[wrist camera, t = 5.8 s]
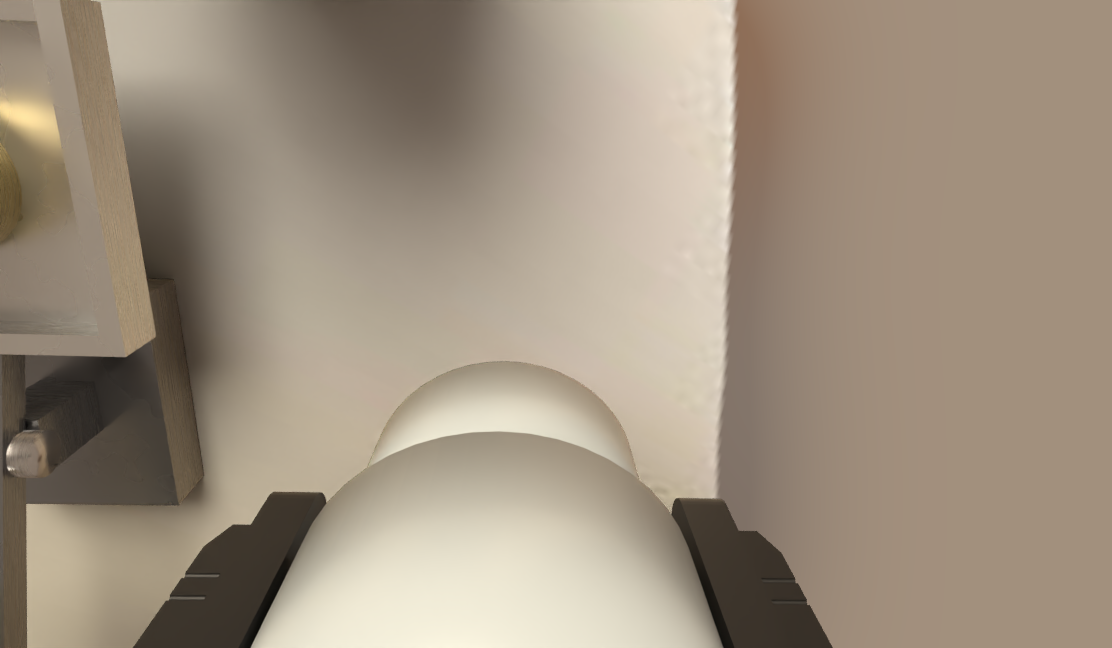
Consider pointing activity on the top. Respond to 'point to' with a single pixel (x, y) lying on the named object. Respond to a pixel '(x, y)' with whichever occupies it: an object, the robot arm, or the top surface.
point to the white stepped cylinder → (494, 531)
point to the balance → (77, 298)
